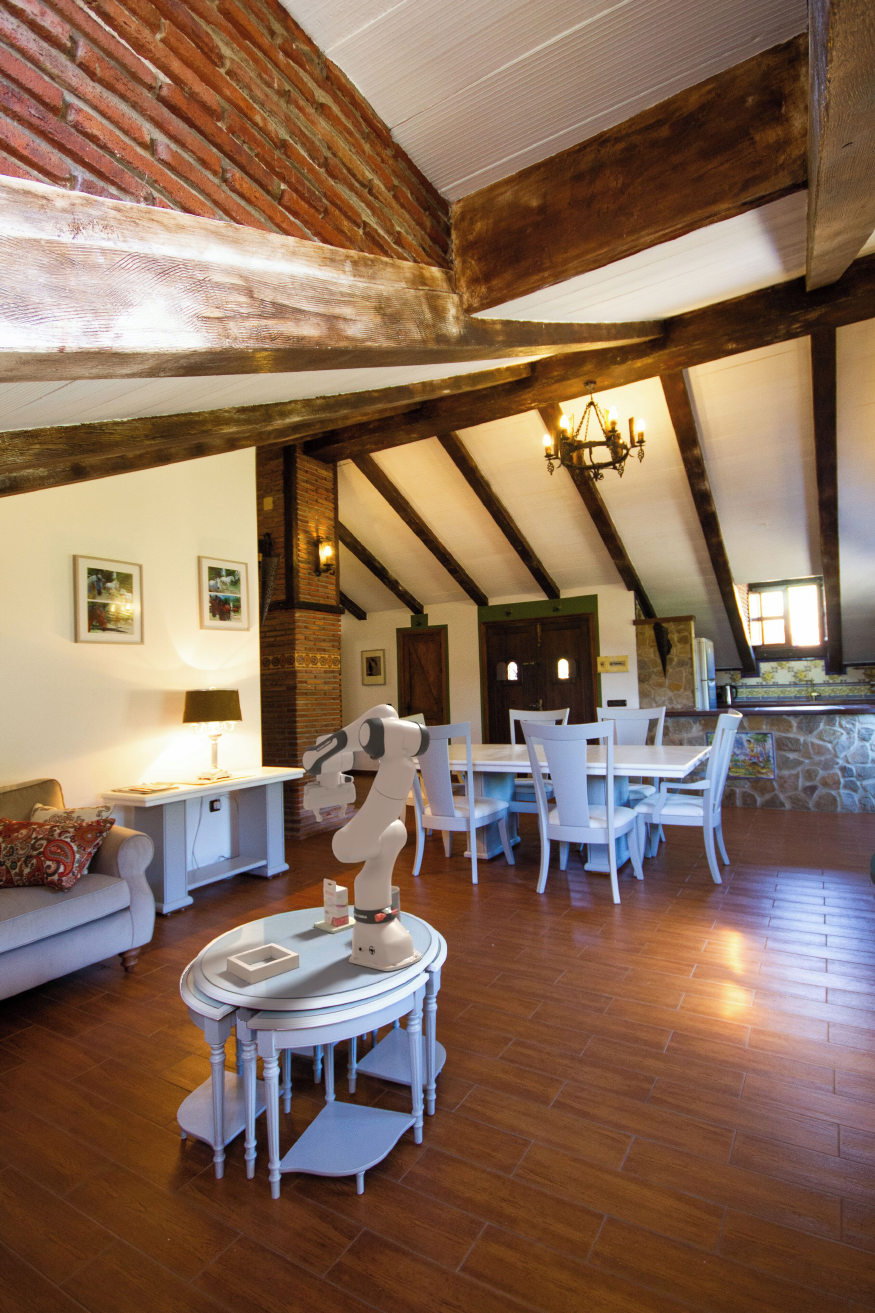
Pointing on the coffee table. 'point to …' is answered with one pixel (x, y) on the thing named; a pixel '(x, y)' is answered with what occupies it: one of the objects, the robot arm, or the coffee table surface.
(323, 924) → the cream square pad
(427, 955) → the coffee table surface
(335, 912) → the ink cartridge box
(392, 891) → the pillar candle
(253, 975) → the cartridge dock
